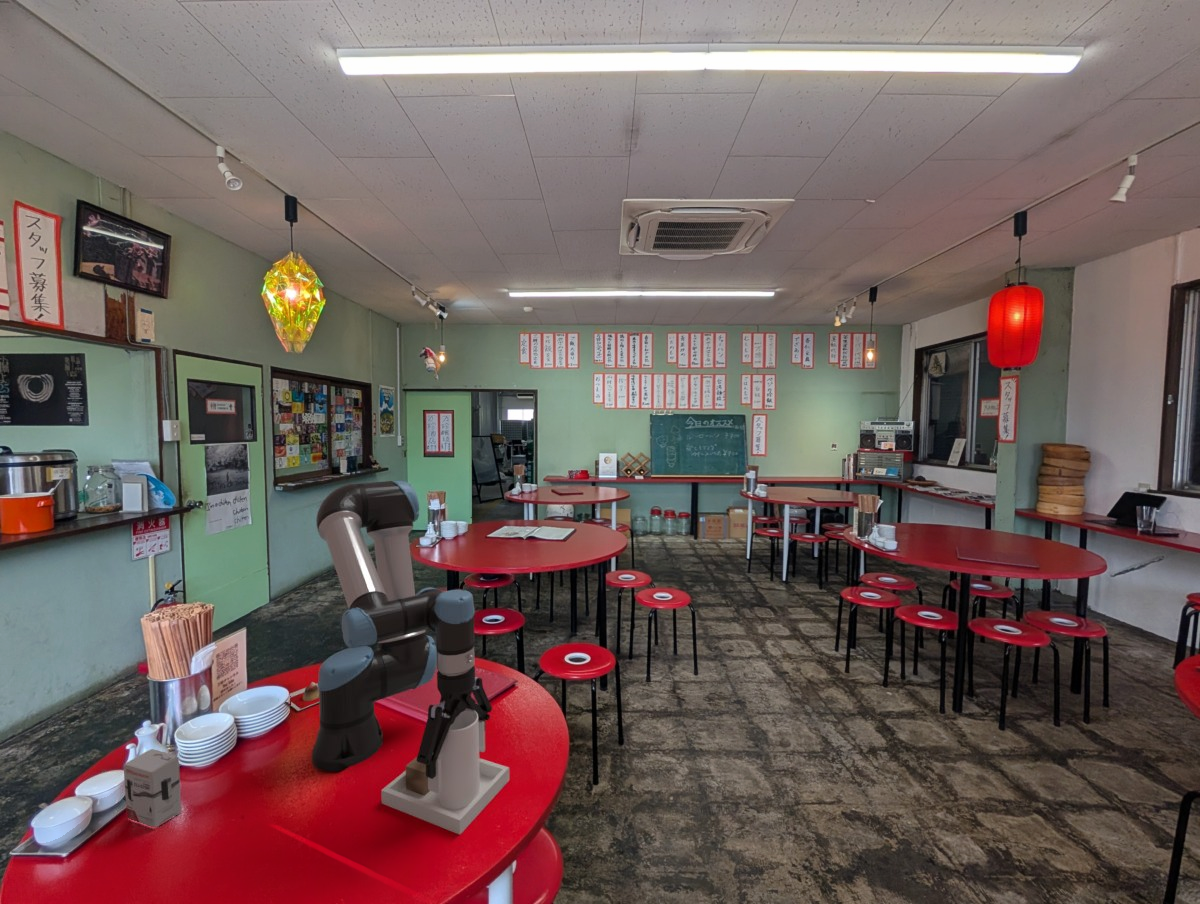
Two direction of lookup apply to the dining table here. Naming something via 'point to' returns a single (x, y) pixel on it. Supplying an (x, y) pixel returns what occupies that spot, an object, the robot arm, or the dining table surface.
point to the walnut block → (416, 777)
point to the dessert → (307, 695)
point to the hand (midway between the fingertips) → (458, 769)
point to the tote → (430, 807)
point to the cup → (460, 762)
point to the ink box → (152, 787)
